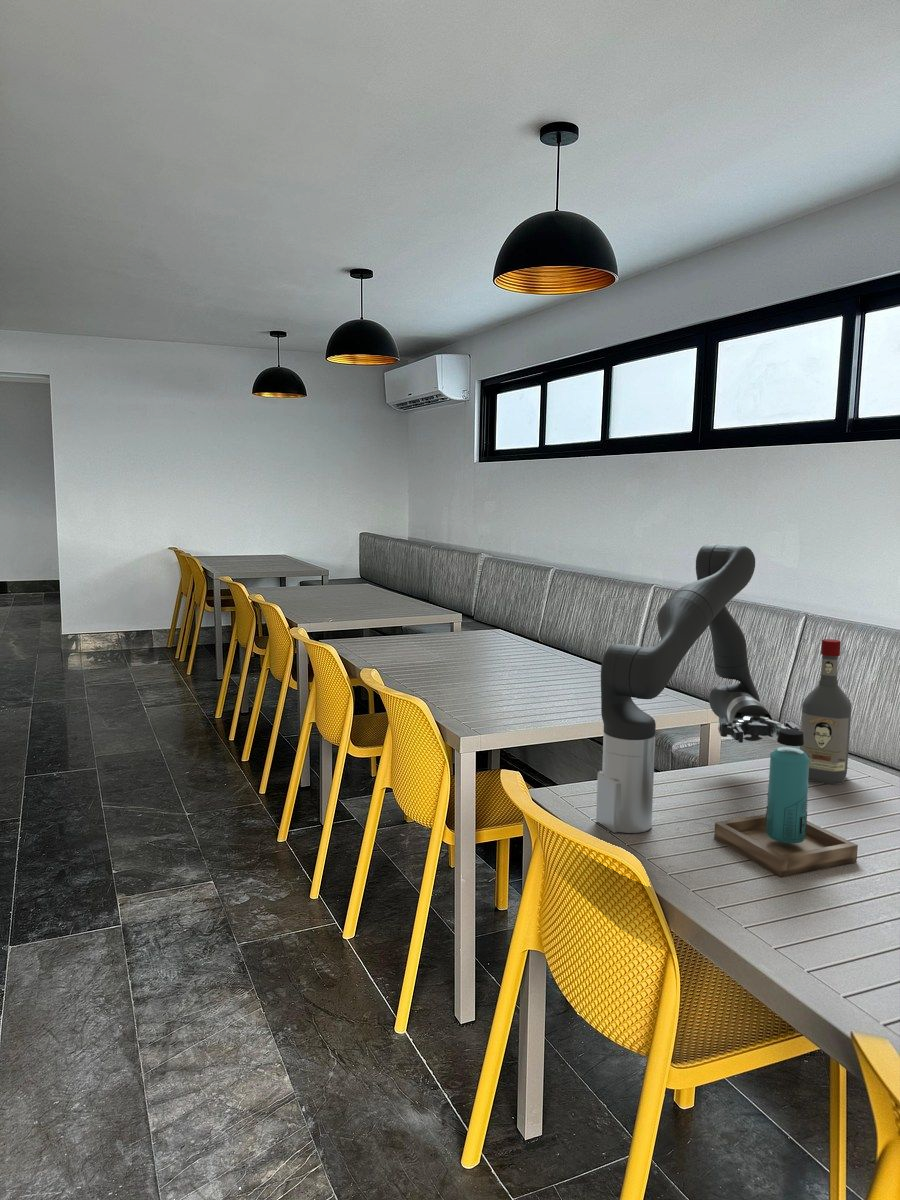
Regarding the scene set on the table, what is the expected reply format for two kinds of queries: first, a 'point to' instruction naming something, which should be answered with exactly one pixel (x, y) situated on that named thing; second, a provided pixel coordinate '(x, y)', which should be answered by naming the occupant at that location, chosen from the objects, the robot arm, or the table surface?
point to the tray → (785, 847)
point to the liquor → (827, 722)
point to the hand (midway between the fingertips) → (765, 739)
